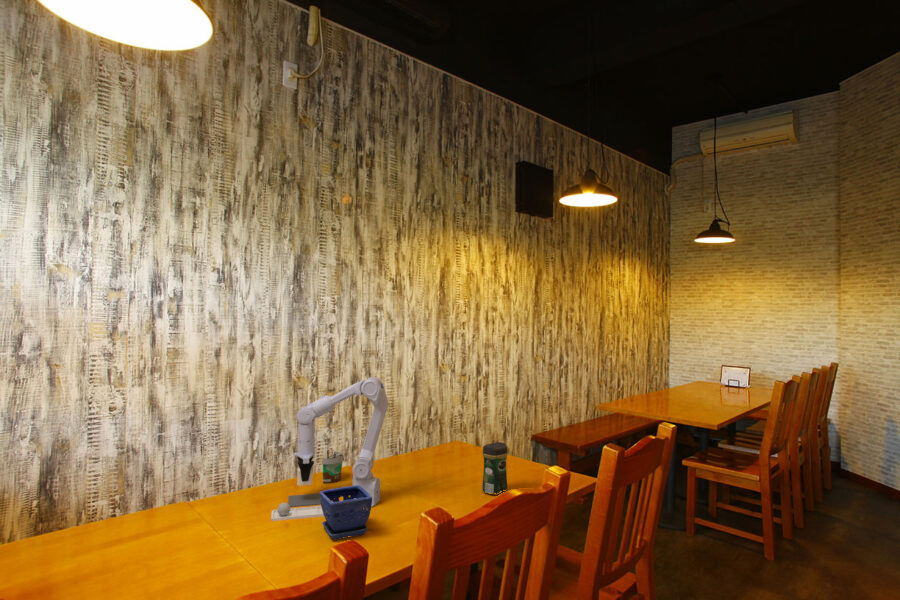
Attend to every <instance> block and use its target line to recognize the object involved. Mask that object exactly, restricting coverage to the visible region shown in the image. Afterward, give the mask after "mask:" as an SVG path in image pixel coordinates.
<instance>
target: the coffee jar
mask: <svg viewBox="0 0 900 600" xmlns="http://www.w3.org/2000/svg"><path fill="white" fill-rule="evenodd" d="M482 457H483V475H482V489H481V490H483V491H484V492H486V493H492V494H494V493H496V494H497V493H499V492H500V491H502V492H501V493H502V494H504V493H506V492H507V491H508V478H507V477H508V475H507V473H508V472H507V457H508V446H507V444H506V443H504V442H501V441H496V442H492V443H488V444H484V445H483V446H482ZM506 489H507V490H506ZM503 490H506V492H505V491H503ZM483 491H482V492H483ZM484 492H483V493H484ZM503 492H504V493H503ZM486 493H485V494H486ZM501 493H499V495H502V494H501Z"/></svg>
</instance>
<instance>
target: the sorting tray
mask: <svg viewBox="0 0 900 600" xmlns="http://www.w3.org/2000/svg"><path fill="white" fill-rule="evenodd" d="M318 517H319V518H320V517H324V514H323V511H322V507H321V505H314V506H302V507H291V508H290V512H289V513H288V514H287V515H285V516H281V515H279V513H278V509H273V510H272V509H271V517H270V521H271V522H274V521H275V522H276V521H277V522H278V521H284V520H285V521H287V520H296V519H308V518H318Z"/></svg>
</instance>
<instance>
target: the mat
mask: <svg viewBox="0 0 900 600" xmlns="http://www.w3.org/2000/svg"><path fill="white" fill-rule="evenodd" d="M287 500H288V501H287V503H288V504H289V506H290V508H300V507H312V506H321V502H320V492H319V493H309V494H305V493H304V494H295V495H288V498H287Z"/></svg>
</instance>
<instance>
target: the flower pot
mask: <svg viewBox="0 0 900 600" xmlns="http://www.w3.org/2000/svg"><path fill="white" fill-rule="evenodd" d="M319 493H320V502H321V505H320V506H321V507H322V511H323V514H324V516H323V517H324V519H325V520H324V521H321V525H322V526H323V527H324V529H325V531H326V533H327V534H328V535H329V537H330V539H332V540H333V539H337V540H340V539H339V538H343V537H348V536H354V537H358V536H357V535H359V536H362V535H364V534H365V533H366V532H368V529H369V528H368V526H367V525H366V524H367V523H368V520H369V517H370V514H371V511H372V507H371V506H372V497H371V495H370V494H369V493H368V492H367V491H365V490H364V489H363V488H362V487H361V486H359V485H355V486H353V485H349V486H341V487H336V488H330V489H325V490H321V491H319ZM341 497H342V498H343V499H342V500H340V498H341ZM354 498H356V499H354ZM348 538H349V537H348ZM343 539H344V538H343Z"/></svg>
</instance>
